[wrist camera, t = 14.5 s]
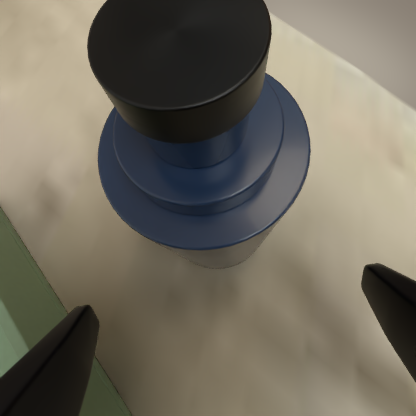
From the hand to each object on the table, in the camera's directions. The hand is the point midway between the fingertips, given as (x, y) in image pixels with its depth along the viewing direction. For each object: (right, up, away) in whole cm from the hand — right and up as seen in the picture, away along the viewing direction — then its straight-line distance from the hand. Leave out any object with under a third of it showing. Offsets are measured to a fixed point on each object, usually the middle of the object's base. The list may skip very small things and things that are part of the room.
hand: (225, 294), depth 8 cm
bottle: (0, +2, +8) cm, 8 cm away
